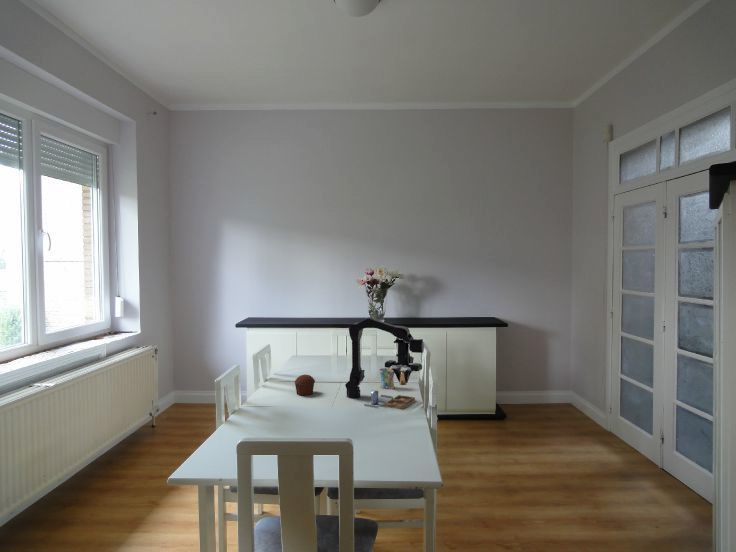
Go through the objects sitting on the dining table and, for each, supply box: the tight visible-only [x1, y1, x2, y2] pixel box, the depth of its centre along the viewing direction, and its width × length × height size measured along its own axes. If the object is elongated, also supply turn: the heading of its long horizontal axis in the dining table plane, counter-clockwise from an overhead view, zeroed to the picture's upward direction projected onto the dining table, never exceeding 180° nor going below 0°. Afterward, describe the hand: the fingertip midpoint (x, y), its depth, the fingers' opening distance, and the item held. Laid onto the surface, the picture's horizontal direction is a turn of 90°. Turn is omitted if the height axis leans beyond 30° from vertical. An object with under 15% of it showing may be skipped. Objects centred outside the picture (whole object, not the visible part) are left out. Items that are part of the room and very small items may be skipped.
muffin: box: [294, 374, 316, 397], centre depth 250 cm, size 12×11×10 cm
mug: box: [379, 367, 396, 390], centre depth 257 cm, size 12×9×11 cm
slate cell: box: [370, 389, 379, 405], centre depth 227 cm, size 4×4×7 cm
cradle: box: [363, 394, 394, 409], centre depth 231 cm, size 7×18×2 cm, turn 150°
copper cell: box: [399, 369, 408, 386], centre depth 231 cm, size 4×4×7 cm
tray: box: [384, 394, 416, 410], centre depth 229 cm, size 9×16×2 cm, turn 150°
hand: (403, 382), depth 231 cm, fingers closed on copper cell, 4 cm apart
